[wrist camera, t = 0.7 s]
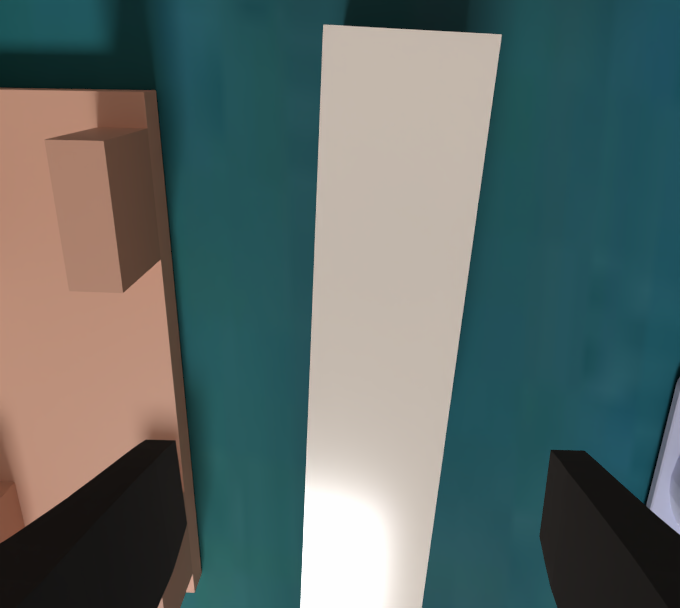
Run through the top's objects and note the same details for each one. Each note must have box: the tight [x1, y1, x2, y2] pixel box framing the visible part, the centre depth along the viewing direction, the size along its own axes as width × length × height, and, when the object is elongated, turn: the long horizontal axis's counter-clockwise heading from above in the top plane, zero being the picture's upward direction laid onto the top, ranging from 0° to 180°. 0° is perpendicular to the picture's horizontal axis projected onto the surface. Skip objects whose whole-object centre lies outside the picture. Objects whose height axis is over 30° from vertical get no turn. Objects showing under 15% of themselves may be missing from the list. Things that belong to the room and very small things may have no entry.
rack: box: [0, 88, 201, 608], centre depth 20 cm, size 8×19×4 cm, turn 179°
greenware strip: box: [301, 25, 502, 608], centre depth 18 cm, size 4×16×6 cm, turn 177°
